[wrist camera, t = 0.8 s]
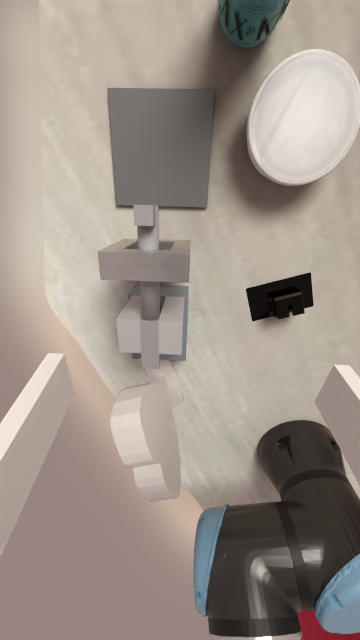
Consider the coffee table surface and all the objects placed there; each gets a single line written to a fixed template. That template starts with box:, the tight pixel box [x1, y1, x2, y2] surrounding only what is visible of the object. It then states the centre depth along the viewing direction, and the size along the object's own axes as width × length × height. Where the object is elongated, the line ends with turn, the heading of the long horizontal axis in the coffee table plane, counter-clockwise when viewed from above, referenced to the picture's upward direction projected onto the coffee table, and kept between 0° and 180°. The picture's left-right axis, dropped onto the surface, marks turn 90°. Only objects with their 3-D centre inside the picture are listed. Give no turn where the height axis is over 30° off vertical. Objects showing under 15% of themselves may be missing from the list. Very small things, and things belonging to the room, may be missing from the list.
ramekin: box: [246, 49, 360, 186], centre depth 28 cm, size 11×11×5 cm
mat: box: [108, 88, 214, 207], centre depth 31 cm, size 12×12×1 cm
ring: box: [98, 239, 190, 283], centre depth 27 cm, size 2×8×10 cm, turn 89°
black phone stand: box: [246, 273, 313, 321], centre depth 36 cm, size 12×7×5 cm, turn 106°
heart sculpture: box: [110, 359, 184, 501], centre depth 37 cm, size 16×5×18 cm, turn 17°
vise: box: [116, 205, 188, 369], centre depth 31 cm, size 21×8×14 cm, turn 179°
